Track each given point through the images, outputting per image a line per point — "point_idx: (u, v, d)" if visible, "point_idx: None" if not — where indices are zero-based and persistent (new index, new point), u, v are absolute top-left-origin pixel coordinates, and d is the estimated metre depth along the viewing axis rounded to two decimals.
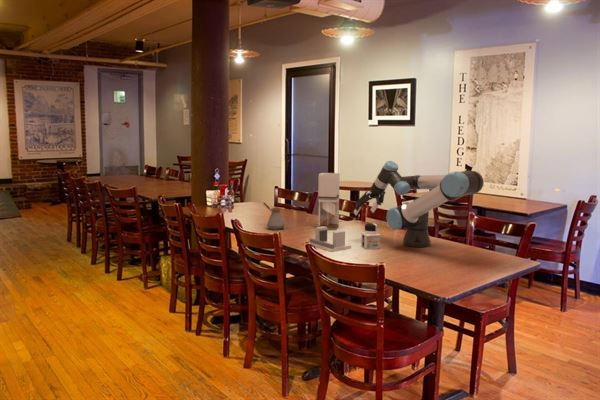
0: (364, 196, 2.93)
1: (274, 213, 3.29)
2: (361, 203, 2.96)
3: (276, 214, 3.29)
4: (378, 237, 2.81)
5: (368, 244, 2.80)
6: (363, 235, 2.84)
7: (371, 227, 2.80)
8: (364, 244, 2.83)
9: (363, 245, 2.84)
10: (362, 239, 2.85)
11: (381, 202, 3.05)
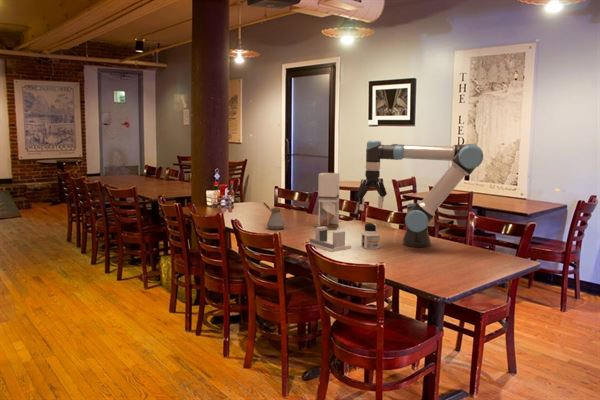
0: (361, 185, 2.77)
1: (274, 213, 3.29)
2: (362, 194, 2.77)
3: (276, 214, 3.29)
4: (378, 237, 2.81)
5: (368, 244, 2.80)
6: (363, 235, 2.84)
7: (371, 227, 2.80)
8: (364, 244, 2.83)
9: (363, 245, 2.84)
10: (362, 239, 2.85)
11: (384, 193, 2.86)
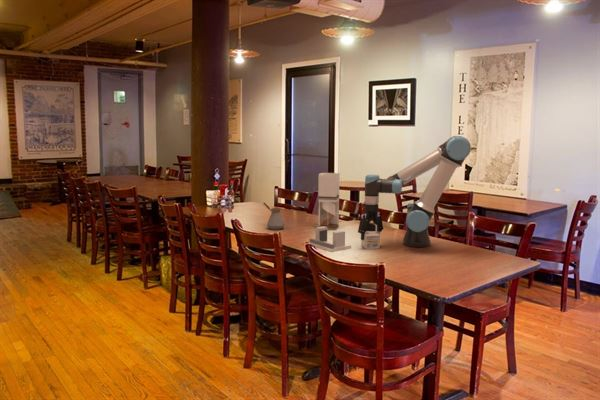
0: (361, 220, 2.79)
1: (274, 213, 3.29)
2: (363, 230, 2.80)
3: (276, 214, 3.29)
4: (378, 237, 2.81)
5: (368, 244, 2.80)
6: None
7: (371, 227, 2.80)
8: None
9: None
10: None
11: (381, 228, 2.87)
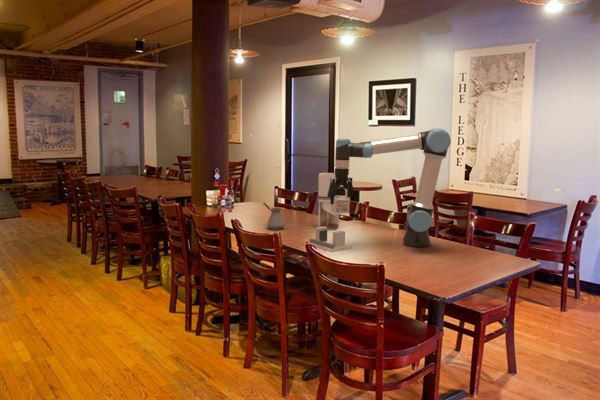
0: (331, 184, 2.77)
1: (274, 213, 3.29)
2: (333, 194, 2.78)
3: (276, 214, 3.29)
4: (348, 202, 2.79)
5: (338, 208, 2.78)
6: None
7: (341, 191, 2.78)
8: None
9: (333, 210, 2.82)
10: None
11: (352, 193, 2.85)
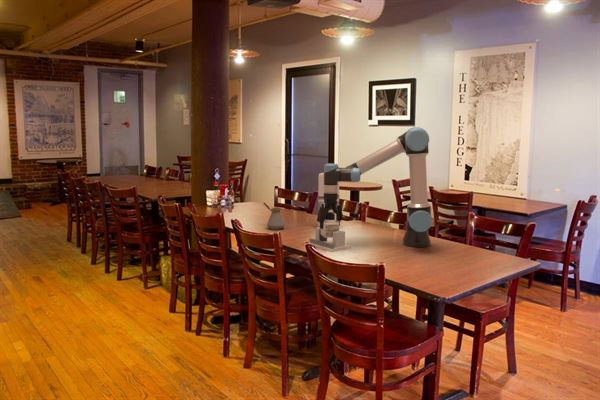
0: (320, 209, 2.79)
1: (274, 213, 3.29)
2: (322, 218, 2.80)
3: (276, 214, 3.29)
4: (337, 226, 2.81)
5: (327, 232, 2.80)
6: None
7: (330, 216, 2.80)
8: None
9: None
10: None
11: (341, 217, 2.87)
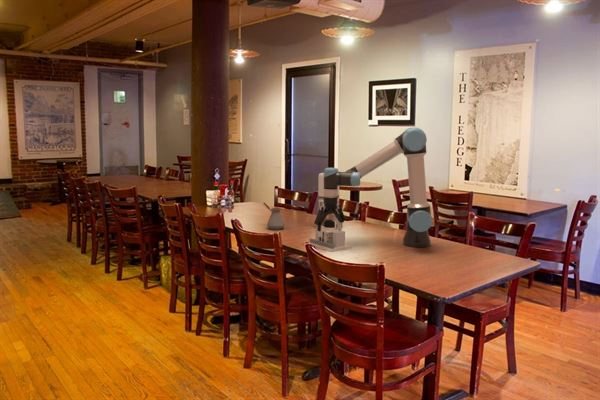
0: (319, 212, 2.79)
1: (274, 213, 3.29)
2: (320, 221, 2.79)
3: (276, 214, 3.29)
4: None
5: (328, 240, 2.81)
6: (322, 232, 2.84)
7: (330, 223, 2.81)
8: (324, 241, 2.83)
9: None
10: (322, 236, 2.86)
11: (343, 219, 2.88)
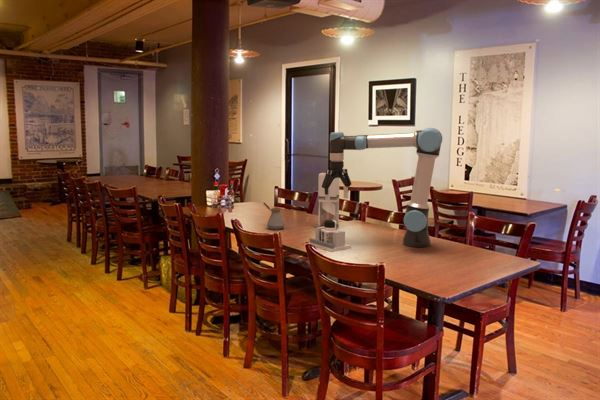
0: (326, 175, 2.82)
1: (274, 213, 3.29)
2: (327, 184, 2.82)
3: (276, 214, 3.29)
4: None
5: (328, 240, 2.81)
6: (323, 232, 2.84)
7: (330, 224, 2.81)
8: (324, 241, 2.83)
9: None
10: (322, 236, 2.86)
11: (349, 183, 2.92)
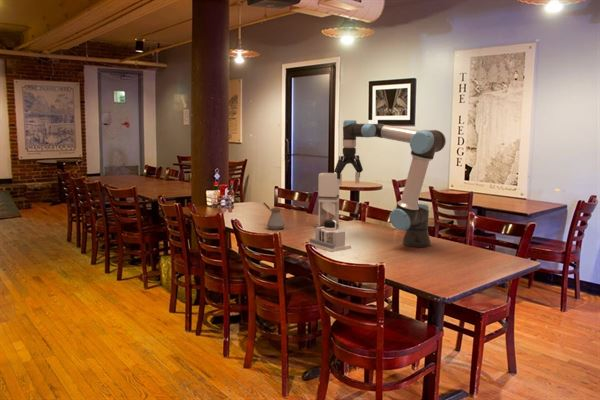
0: (339, 161, 2.97)
1: (274, 213, 3.29)
2: (340, 169, 2.98)
3: (276, 214, 3.29)
4: None
5: (328, 240, 2.81)
6: (323, 232, 2.84)
7: (330, 224, 2.81)
8: (324, 241, 2.83)
9: None
10: (322, 236, 2.86)
11: (361, 169, 3.07)
